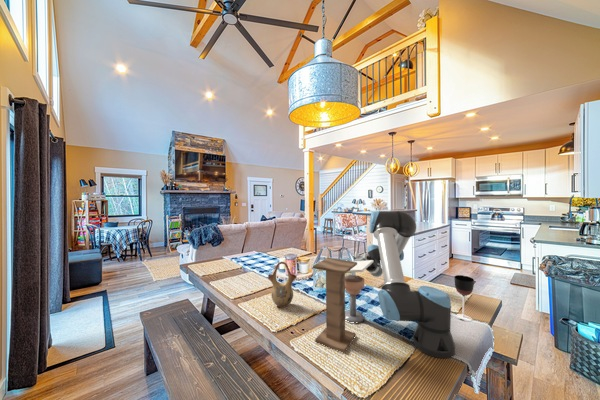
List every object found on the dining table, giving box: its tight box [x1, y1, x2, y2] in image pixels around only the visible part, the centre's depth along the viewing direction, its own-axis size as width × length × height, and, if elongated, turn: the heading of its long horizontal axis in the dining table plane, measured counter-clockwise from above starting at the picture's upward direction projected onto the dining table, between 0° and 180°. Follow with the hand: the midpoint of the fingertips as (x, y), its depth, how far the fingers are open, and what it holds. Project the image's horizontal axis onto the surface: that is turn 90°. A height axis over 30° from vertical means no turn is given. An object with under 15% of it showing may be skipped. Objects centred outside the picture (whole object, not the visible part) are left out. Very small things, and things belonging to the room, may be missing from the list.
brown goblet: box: [345, 274, 365, 323], centre depth 121 cm, size 11×11×20 cm
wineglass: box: [453, 274, 475, 320], centre depth 120 cm, size 8×9×20 cm
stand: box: [312, 257, 357, 354], centre depth 103 cm, size 14×14×33 cm
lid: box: [347, 253, 374, 274], centre depth 124 cm, size 30×17×2 cm, turn 147°
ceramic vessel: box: [267, 261, 298, 308], centre depth 135 cm, size 16×9×25 cm, turn 91°
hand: (359, 254), depth 129 cm, fingers closed on lid, 4 cm apart
